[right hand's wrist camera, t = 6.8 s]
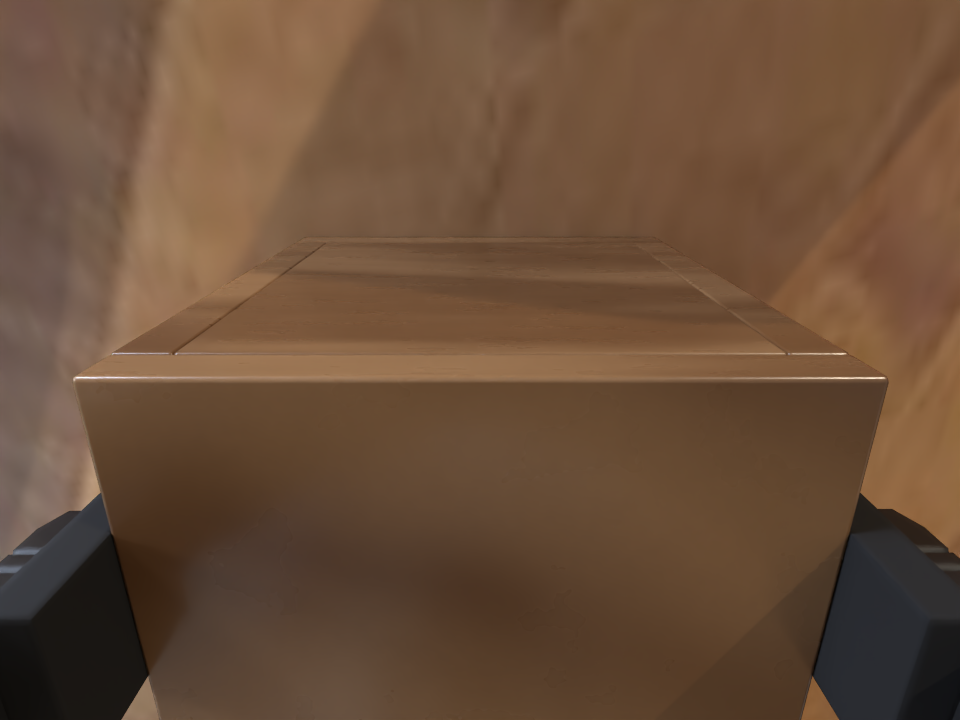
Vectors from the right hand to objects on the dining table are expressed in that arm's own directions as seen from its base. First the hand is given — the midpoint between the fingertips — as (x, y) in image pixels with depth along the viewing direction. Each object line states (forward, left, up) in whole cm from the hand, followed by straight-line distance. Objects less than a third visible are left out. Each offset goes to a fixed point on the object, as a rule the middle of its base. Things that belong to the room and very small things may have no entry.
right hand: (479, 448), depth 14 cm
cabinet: (+4, -6, -6) cm, 9 cm away
